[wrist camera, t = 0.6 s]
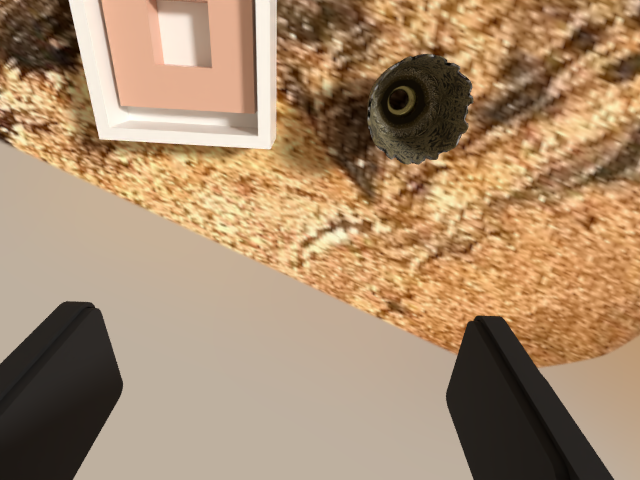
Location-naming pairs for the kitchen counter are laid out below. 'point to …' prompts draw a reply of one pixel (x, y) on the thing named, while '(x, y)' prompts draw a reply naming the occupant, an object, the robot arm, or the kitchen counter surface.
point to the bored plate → (184, 80)
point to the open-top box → (180, 49)
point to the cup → (419, 108)
